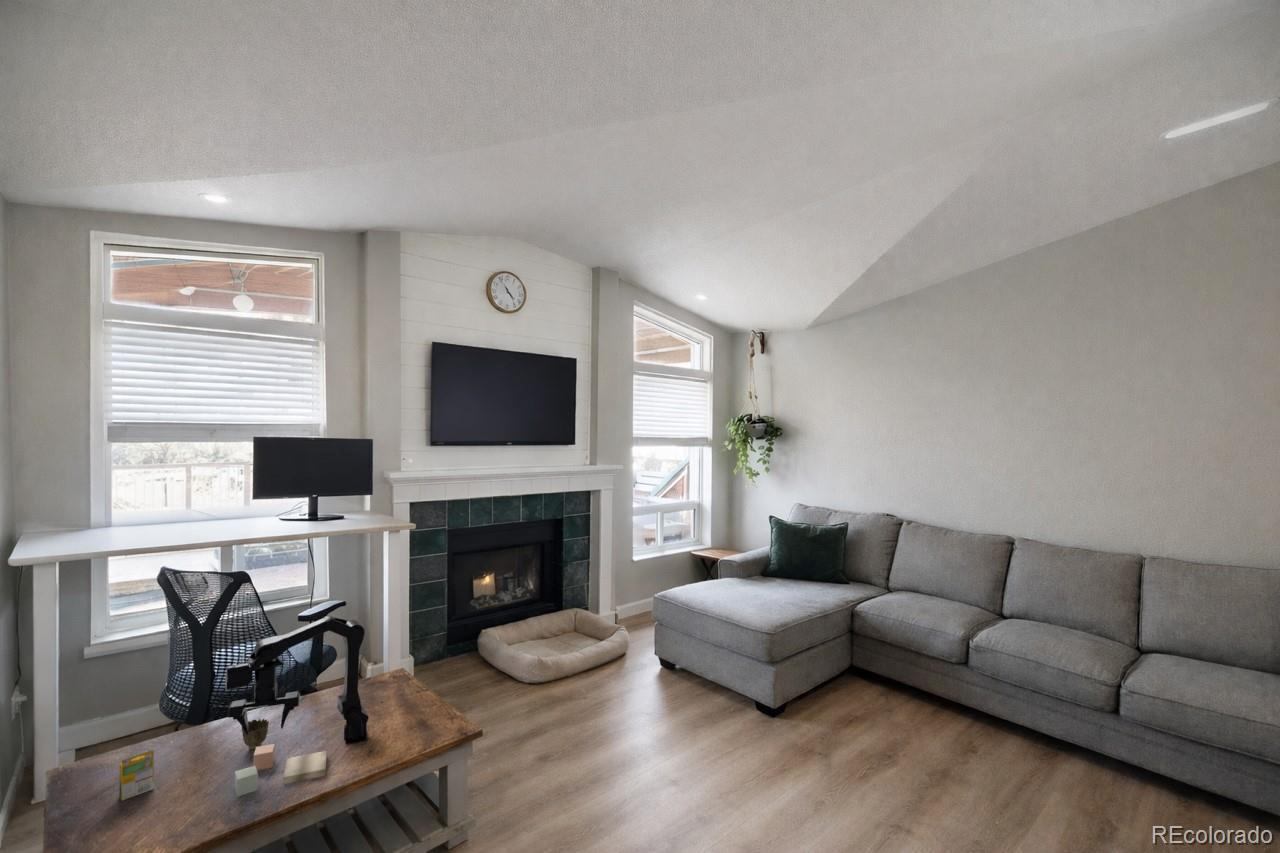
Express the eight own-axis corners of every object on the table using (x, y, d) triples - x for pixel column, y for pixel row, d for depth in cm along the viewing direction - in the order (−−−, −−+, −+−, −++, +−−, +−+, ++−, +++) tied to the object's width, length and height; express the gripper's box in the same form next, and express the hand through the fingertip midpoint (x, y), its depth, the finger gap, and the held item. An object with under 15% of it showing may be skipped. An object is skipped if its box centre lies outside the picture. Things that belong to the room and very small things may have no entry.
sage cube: (254, 782, 178) (255, 765, 178) (257, 790, 174) (257, 773, 174) (234, 788, 175) (235, 771, 175) (236, 797, 171) (237, 779, 171)
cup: (255, 756, 192) (255, 731, 192) (235, 752, 193) (236, 728, 193) (273, 743, 199) (274, 719, 199) (254, 740, 200) (255, 717, 200)
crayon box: (151, 785, 176) (151, 745, 175) (154, 789, 174) (154, 749, 174) (118, 797, 170) (119, 756, 170) (121, 801, 168) (121, 760, 168)
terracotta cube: (274, 759, 190) (274, 743, 190) (272, 767, 186) (272, 751, 186) (255, 762, 188) (256, 747, 188) (253, 771, 184) (253, 755, 183)
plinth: (326, 758, 192) (326, 750, 192) (325, 777, 182) (325, 768, 182) (287, 766, 187) (287, 758, 187) (283, 785, 177) (283, 777, 177)
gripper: (301, 666, 198) (301, 713, 198) (234, 676, 190) (234, 725, 190) (298, 680, 188) (298, 729, 188) (227, 690, 180) (227, 742, 180)
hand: (264, 731), depth 187 cm, fingers open, 9 cm apart
